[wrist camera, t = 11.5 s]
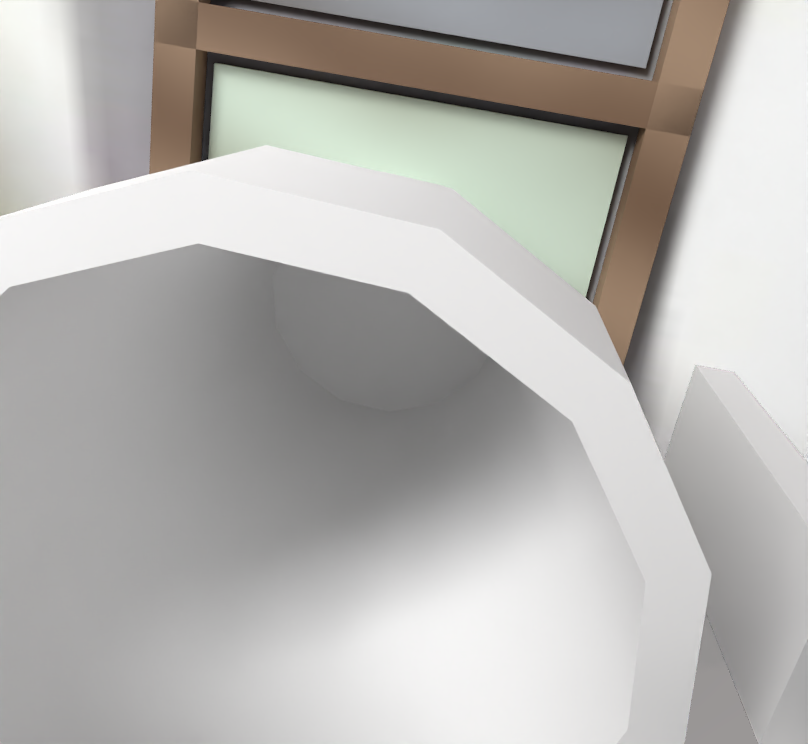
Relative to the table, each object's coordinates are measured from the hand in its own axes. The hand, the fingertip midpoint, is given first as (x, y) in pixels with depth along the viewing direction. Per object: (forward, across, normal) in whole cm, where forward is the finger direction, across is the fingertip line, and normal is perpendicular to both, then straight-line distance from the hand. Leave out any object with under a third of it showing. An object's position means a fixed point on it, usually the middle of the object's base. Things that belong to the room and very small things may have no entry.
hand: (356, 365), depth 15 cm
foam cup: (+5, 0, 0) cm, 5 cm away
